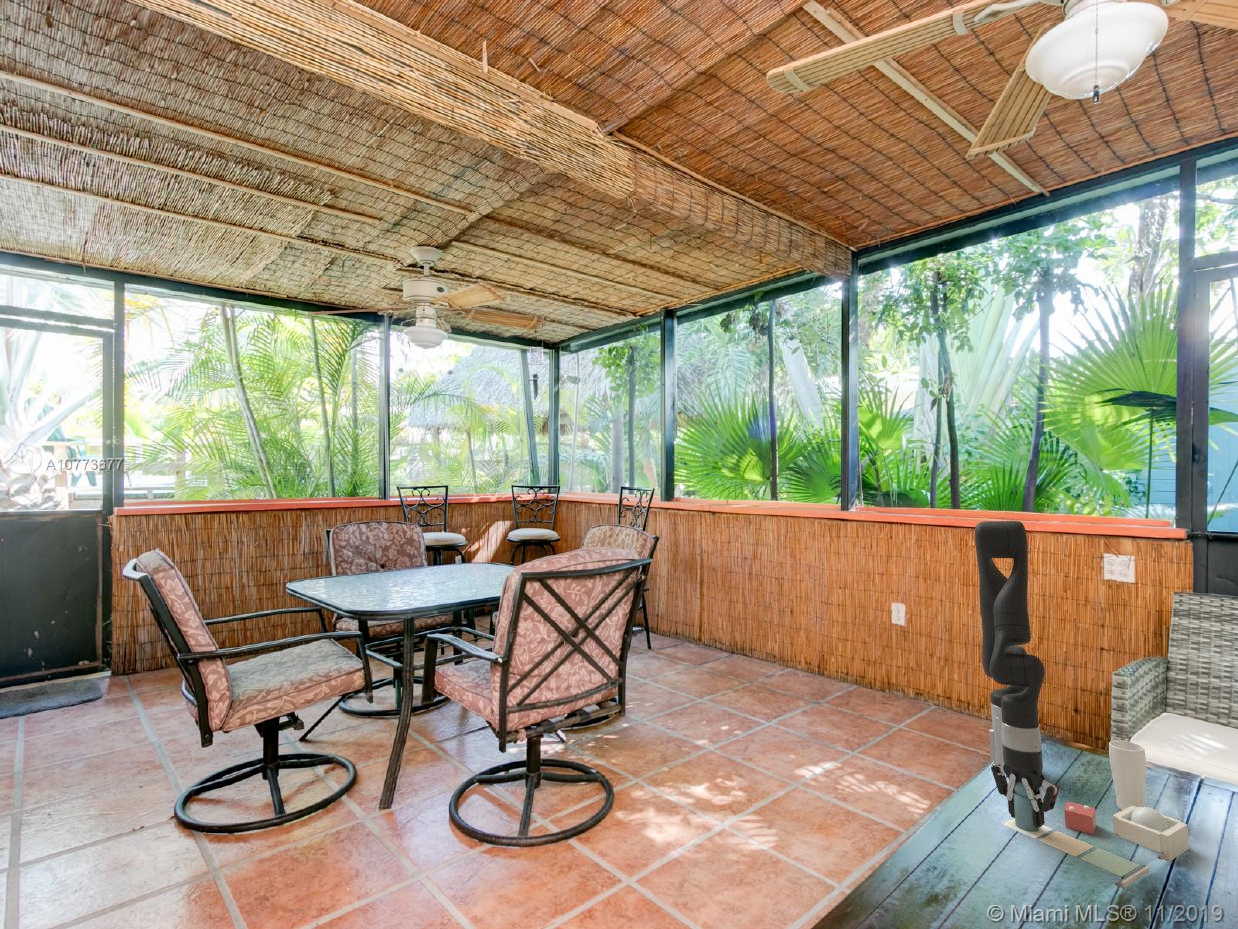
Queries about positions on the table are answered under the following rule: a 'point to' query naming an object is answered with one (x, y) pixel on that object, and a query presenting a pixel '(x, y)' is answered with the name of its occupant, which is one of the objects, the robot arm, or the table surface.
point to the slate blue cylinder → (1023, 809)
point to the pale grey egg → (1149, 818)
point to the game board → (1095, 857)
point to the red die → (1080, 817)
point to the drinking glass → (1128, 773)
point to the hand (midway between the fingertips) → (1026, 821)
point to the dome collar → (1153, 834)
